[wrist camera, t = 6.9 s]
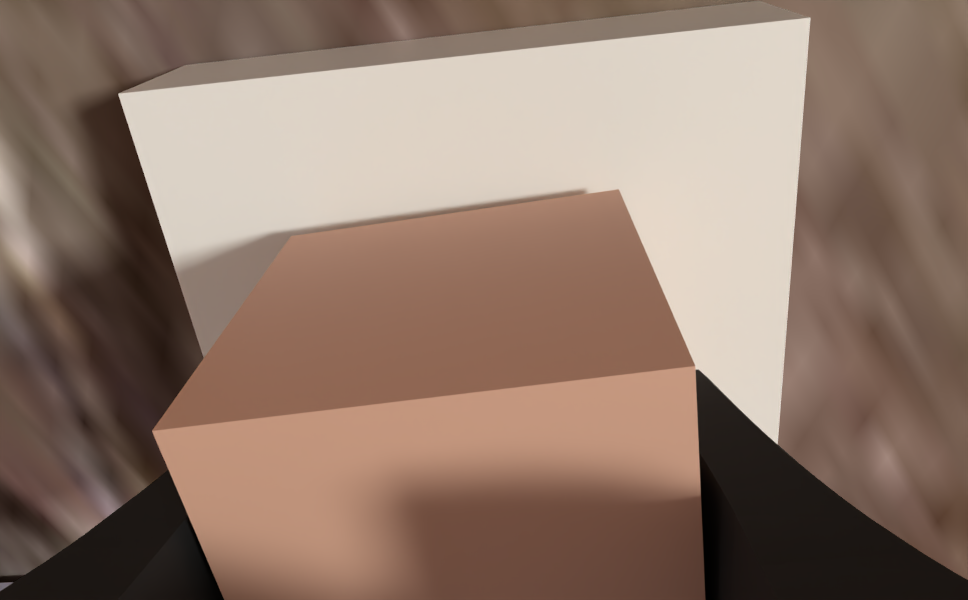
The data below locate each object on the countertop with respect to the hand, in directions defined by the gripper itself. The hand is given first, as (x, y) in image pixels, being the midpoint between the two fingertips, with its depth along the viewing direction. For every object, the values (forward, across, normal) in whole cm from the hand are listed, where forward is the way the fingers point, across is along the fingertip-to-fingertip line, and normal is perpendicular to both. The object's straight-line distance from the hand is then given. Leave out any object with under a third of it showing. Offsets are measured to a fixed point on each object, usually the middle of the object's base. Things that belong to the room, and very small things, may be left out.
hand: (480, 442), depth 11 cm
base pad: (+5, 0, 0) cm, 5 cm away
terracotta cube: (+2, 0, 0) cm, 2 cm away
